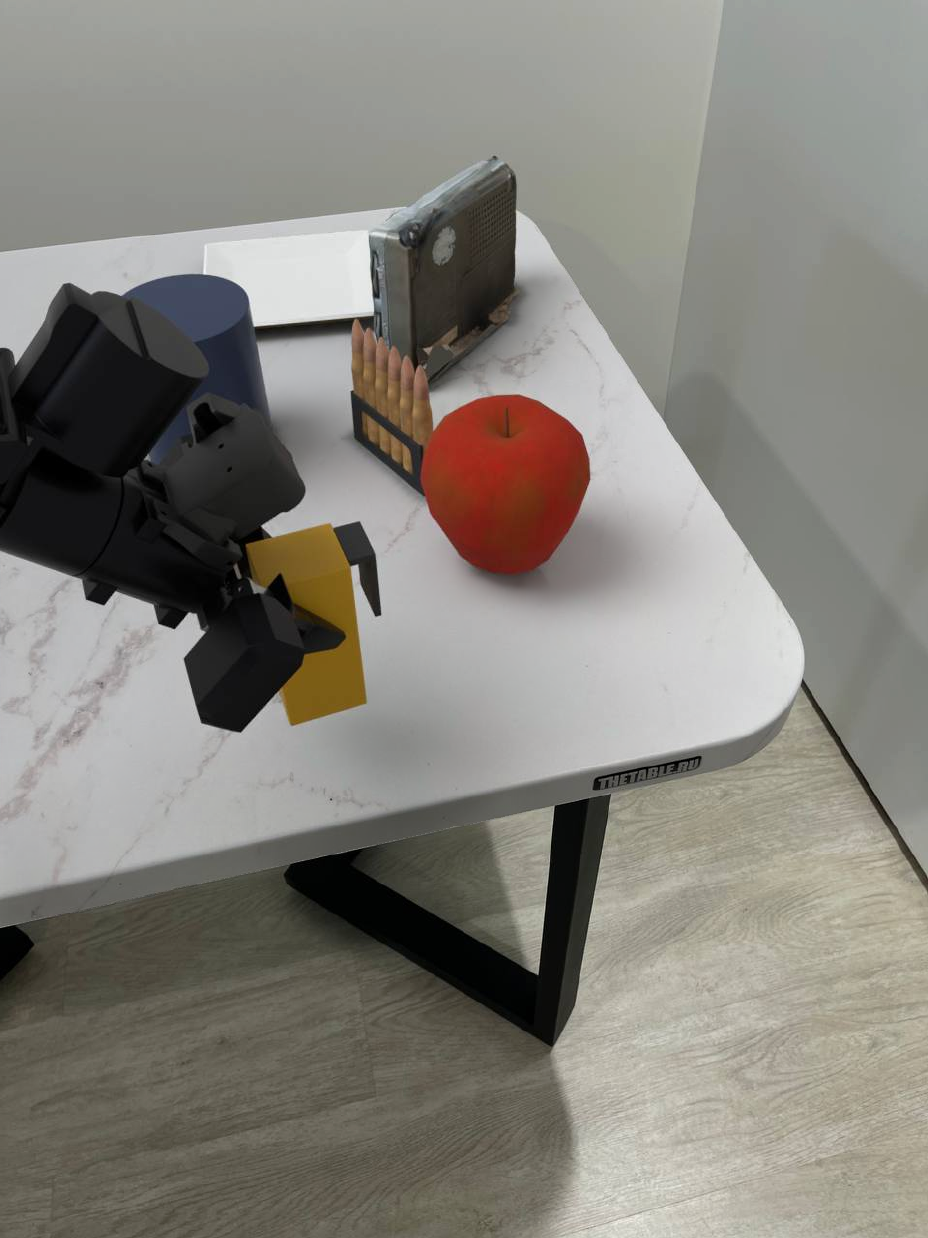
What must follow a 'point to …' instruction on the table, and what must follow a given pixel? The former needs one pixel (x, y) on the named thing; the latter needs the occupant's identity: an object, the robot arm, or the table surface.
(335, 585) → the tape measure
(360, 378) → the ammunition clip
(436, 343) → the radio
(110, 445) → the robot arm
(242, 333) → the navy blue cylinder
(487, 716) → the table surface
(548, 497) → the apple
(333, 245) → the plate
